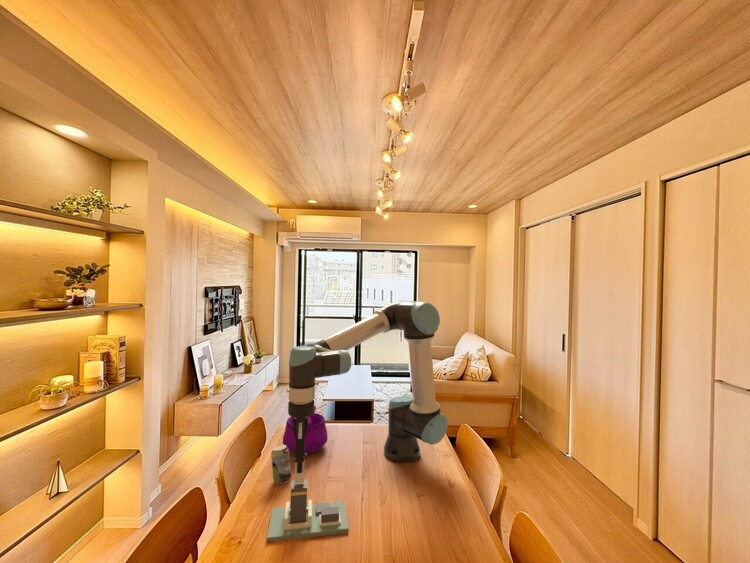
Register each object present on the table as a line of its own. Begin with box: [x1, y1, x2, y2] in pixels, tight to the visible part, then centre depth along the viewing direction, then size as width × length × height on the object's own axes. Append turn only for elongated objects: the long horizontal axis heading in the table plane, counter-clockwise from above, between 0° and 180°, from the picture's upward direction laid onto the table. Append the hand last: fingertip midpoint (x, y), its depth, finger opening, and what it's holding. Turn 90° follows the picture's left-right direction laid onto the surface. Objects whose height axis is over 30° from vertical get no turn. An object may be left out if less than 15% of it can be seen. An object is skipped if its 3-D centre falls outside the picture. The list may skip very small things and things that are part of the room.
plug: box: [290, 478, 308, 524], centre depth 96 cm, size 5×5×10 cm
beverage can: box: [270, 444, 292, 485], centre depth 117 cm, size 6×7×12 cm
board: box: [266, 499, 350, 543], centre depth 96 cm, size 22×12×4 cm, turn 101°
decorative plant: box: [282, 404, 328, 454], centre depth 141 cm, size 19×19×30 cm
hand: (299, 481), depth 96 cm, fingers closed
